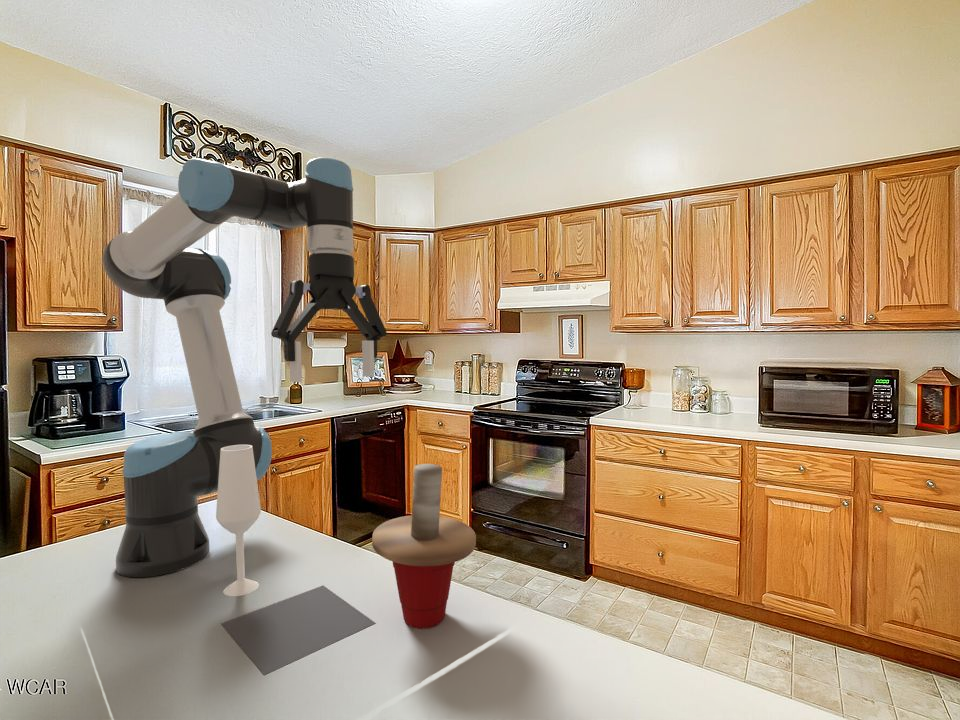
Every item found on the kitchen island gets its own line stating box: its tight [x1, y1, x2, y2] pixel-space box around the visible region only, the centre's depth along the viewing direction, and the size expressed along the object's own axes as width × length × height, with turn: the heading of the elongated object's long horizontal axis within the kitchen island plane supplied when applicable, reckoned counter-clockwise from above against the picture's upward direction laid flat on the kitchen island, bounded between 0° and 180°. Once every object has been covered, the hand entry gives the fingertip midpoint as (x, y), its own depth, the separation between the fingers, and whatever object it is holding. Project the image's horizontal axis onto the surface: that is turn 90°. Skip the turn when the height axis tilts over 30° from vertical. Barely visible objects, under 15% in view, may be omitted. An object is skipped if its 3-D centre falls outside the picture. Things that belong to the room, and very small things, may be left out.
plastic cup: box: [392, 561, 456, 630], centre depth 75 cm, size 11×11×12 cm
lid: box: [371, 463, 477, 566], centre depth 74 cm, size 15×15×11 cm
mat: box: [220, 585, 377, 676], centre depth 74 cm, size 16×16×1 cm
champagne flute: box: [215, 445, 262, 597], centre depth 84 cm, size 7×7×24 cm
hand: (334, 379), depth 88 cm, fingers open, 13 cm apart
